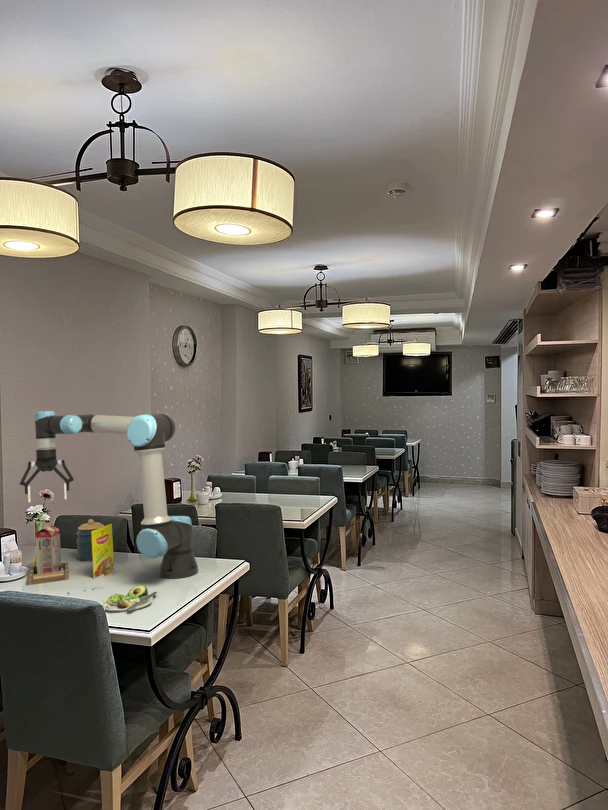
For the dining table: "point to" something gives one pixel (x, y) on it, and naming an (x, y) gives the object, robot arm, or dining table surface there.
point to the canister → (86, 540)
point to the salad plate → (130, 599)
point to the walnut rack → (49, 579)
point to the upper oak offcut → (49, 575)
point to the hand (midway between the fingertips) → (47, 500)
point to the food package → (102, 551)
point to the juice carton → (48, 549)
